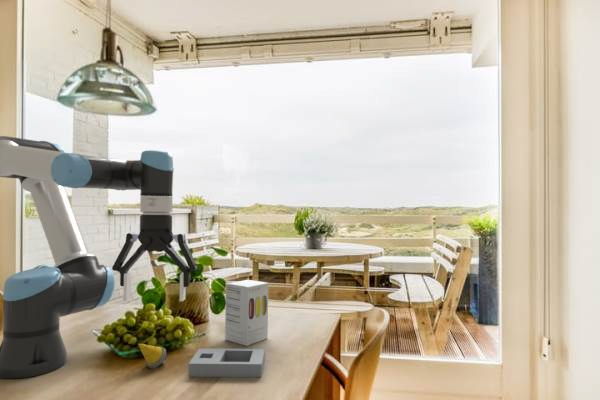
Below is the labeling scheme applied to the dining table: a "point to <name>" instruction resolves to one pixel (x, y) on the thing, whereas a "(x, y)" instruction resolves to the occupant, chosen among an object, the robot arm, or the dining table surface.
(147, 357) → the yellow grooved cone
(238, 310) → the supplement box
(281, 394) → the dining table surface
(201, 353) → the bit holder block
